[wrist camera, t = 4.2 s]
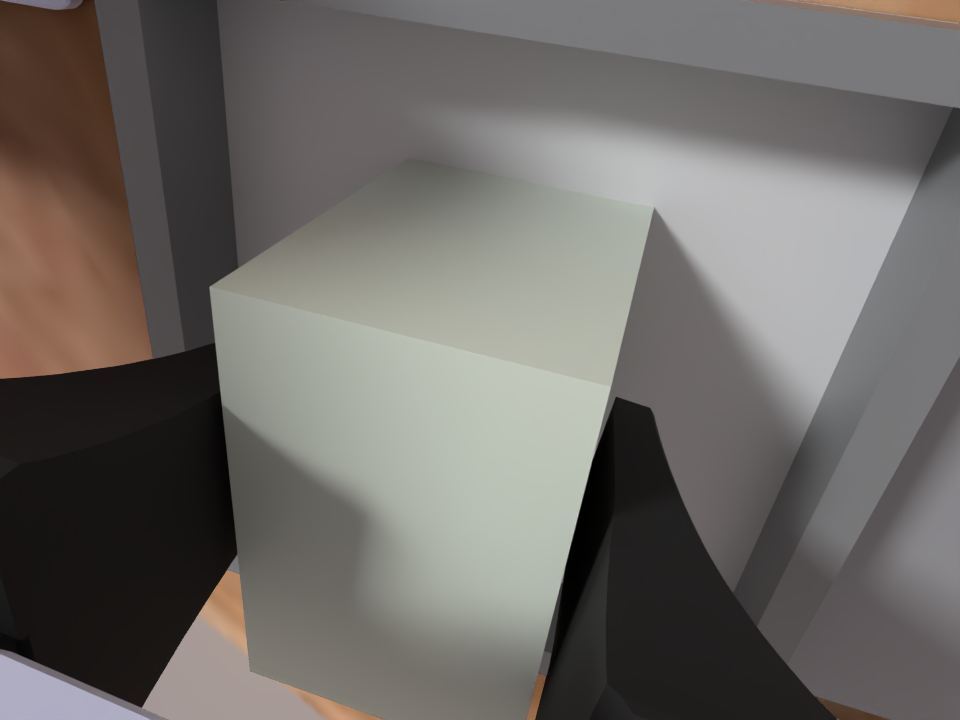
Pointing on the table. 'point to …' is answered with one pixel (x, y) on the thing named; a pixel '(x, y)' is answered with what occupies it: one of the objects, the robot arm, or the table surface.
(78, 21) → the table surface
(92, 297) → the table surface
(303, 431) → the block
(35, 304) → the table surface
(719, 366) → the equipment case
